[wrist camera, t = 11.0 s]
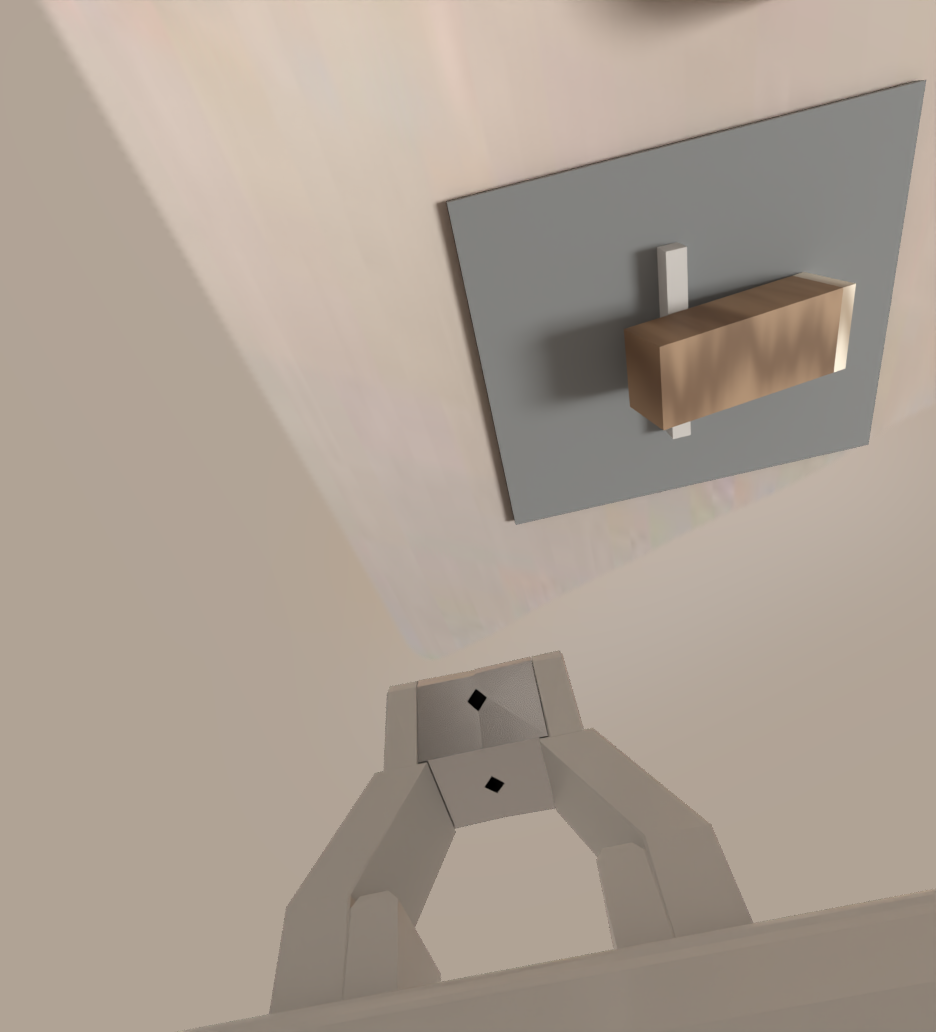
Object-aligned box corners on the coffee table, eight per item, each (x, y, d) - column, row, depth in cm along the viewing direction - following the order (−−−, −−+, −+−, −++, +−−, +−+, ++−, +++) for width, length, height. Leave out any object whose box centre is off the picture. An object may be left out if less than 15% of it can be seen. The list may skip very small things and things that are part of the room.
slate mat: (446, 201, 34) (448, 206, 33) (918, 80, 33) (946, 78, 31) (514, 520, 46) (518, 536, 45) (863, 440, 45) (881, 454, 43)
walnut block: (659, 347, 33) (855, 283, 34) (623, 329, 36) (804, 271, 38) (663, 430, 36) (845, 368, 37) (629, 406, 39) (797, 350, 40)
